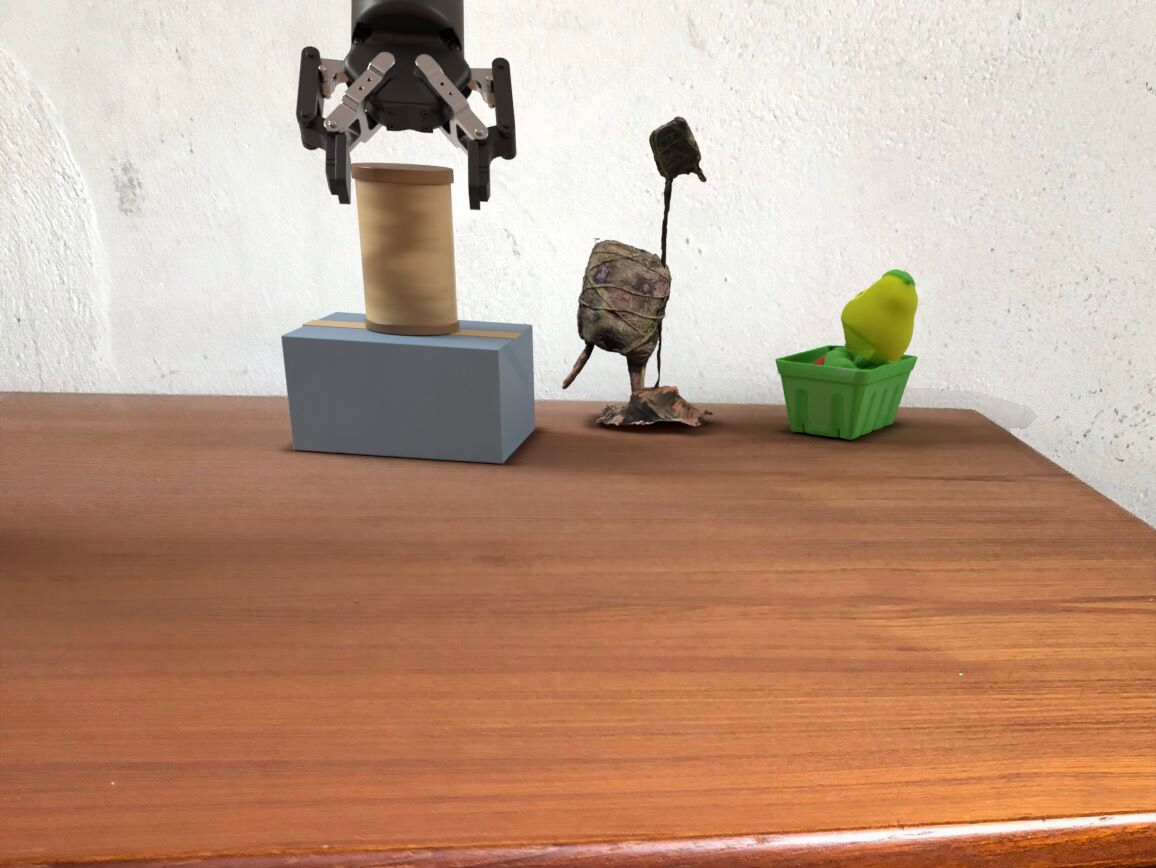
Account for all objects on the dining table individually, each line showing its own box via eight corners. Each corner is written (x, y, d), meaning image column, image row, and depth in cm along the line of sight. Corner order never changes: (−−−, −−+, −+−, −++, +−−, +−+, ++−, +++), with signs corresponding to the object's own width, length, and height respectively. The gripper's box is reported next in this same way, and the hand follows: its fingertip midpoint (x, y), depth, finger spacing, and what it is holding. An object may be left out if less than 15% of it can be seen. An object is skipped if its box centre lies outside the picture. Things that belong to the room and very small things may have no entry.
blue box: (291, 450, 100) (278, 334, 96) (343, 416, 110) (333, 310, 106) (504, 464, 99) (500, 348, 96) (536, 429, 110) (534, 323, 106)
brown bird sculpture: (592, 406, 118) (589, 109, 108) (727, 422, 116) (738, 119, 105) (547, 423, 112) (540, 108, 101) (690, 440, 109) (697, 119, 99)
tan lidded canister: (352, 332, 98) (337, 165, 93) (378, 319, 104) (366, 161, 99) (449, 338, 98) (440, 171, 93) (470, 325, 104) (463, 167, 99)
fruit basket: (826, 410, 122) (836, 255, 116) (928, 425, 119) (945, 266, 113) (767, 432, 113) (775, 265, 107) (876, 448, 110) (891, 278, 104)
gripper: (515, 48, 108) (519, 244, 104) (310, 35, 106) (307, 234, 102) (511, -47, 101) (515, 160, 97) (291, -62, 99) (287, 148, 95)
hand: (408, 198), depth 100 cm, fingers open, 8 cm apart
